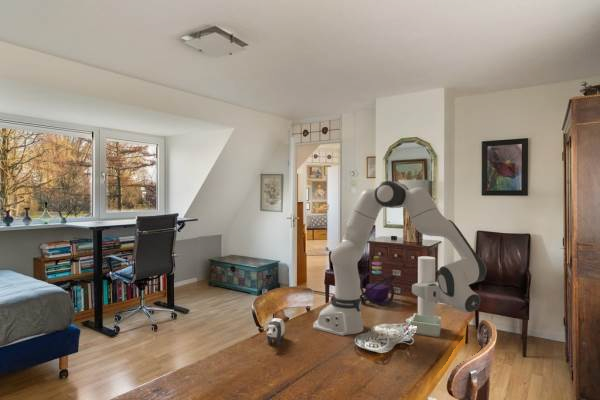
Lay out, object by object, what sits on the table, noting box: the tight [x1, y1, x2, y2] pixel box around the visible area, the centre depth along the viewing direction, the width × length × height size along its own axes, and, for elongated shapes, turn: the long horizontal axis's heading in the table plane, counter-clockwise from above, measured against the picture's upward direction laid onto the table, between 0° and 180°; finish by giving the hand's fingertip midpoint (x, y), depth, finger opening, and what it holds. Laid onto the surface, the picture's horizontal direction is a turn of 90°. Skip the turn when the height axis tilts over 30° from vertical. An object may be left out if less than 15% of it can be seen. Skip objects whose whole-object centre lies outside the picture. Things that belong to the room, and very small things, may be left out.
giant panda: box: [266, 317, 286, 347], centre depth 148 cm, size 15×6×10 cm, turn 169°
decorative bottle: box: [360, 255, 396, 306], centre depth 203 cm, size 22×21×25 cm
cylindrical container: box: [417, 255, 436, 317], centre depth 161 cm, size 7×7×25 cm
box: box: [409, 312, 442, 338], centre depth 162 cm, size 12×12×5 cm
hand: (425, 284), depth 162 cm, fingers closed on cylindrical container, 7 cm apart
